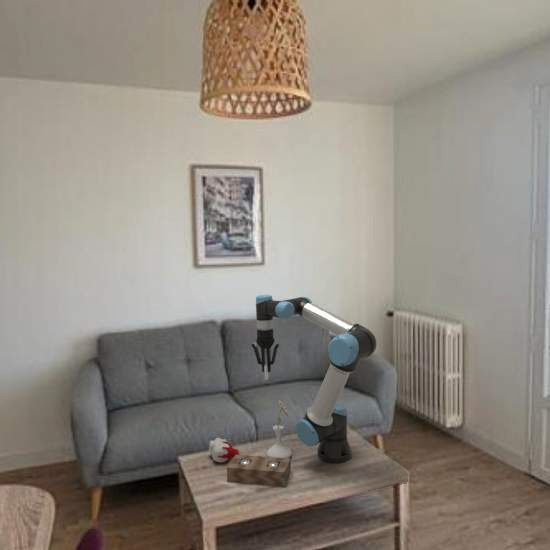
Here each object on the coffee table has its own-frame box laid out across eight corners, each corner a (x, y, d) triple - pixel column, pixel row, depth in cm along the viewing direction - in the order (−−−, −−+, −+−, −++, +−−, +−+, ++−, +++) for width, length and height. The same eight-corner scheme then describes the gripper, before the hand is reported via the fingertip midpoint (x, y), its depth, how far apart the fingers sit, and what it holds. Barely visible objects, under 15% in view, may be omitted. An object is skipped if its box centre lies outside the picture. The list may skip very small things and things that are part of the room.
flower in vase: (287, 464, 218) (286, 408, 215) (263, 461, 221) (261, 406, 219) (296, 451, 230) (294, 398, 228) (272, 448, 233) (270, 396, 231)
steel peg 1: (251, 472, 210) (251, 459, 209) (248, 476, 206) (248, 464, 206) (242, 471, 211) (242, 458, 210) (239, 476, 207) (239, 463, 206)
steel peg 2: (279, 474, 207) (279, 461, 207) (277, 479, 203) (276, 466, 203) (270, 473, 208) (269, 461, 208) (267, 478, 204) (267, 465, 204)
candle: (208, 453, 230) (241, 457, 228) (202, 464, 219) (236, 469, 217) (210, 434, 229) (242, 438, 228) (204, 444, 218) (238, 449, 216)
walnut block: (291, 472, 210) (290, 458, 210) (284, 486, 198) (284, 472, 198) (236, 467, 216) (235, 454, 215) (227, 481, 204) (226, 467, 204)
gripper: (280, 327, 232) (281, 376, 234) (252, 327, 235) (254, 376, 237) (277, 330, 225) (279, 381, 227) (249, 330, 227) (251, 381, 229)
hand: (266, 378), depth 232 cm, fingers closed
